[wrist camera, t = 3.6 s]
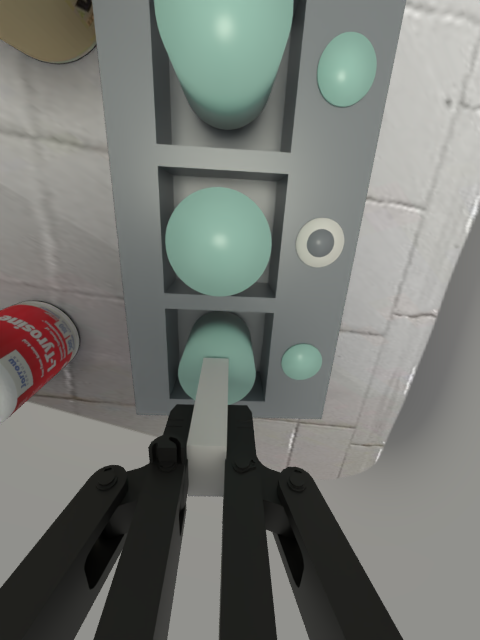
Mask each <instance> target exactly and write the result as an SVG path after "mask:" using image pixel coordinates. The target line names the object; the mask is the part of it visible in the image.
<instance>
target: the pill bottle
mask: <svg viewBox="0 0 480 640" xmlns="http://www.w3.org/2000/svg"><path fill="white" fill-rule="evenodd" d="M78 348H79V336H78V332H77V329H76V327H75V325H74V324H73V322H72V321H71V320H70V318H69V317H68V316H67V315H66V314H65V313H63V312H62V311H61V310H59V309H58V308H56V307H54V306H52V305H50V304H47V303H44V302H38V301H26V302H21V303H18V304H15V305H12V306H10V307H7V308H5V309H3V310H0V424H1V423H2V422H4V421H5V420H6V419H7V418H8V417H10V416H11V415H12V414H13V413H14V412H15V411H16V410H17V409H18V408H20V407H21V405H23V404H24V403H25V402H26V401H27V400H28V399H29V398H31V397H32V396H33V395H34V394H35V393H36V392H37V391H38V390H39V389H41V388H42V387H43V386H44V385H45V384H46V383H47V382H48V381H49V380H50V379H51V378H53V377H54V376H55V375H56V374H57V373H58V372H59V371H60V370H61V369H62V368H64V367H65V366H66V365H67V364H68V363H69V362H70V361H71V360H72V359H73V358H74V356H75V355H76V353H77V351H78Z"/></svg>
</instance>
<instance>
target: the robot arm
mask: <svg viewBox="0 0 480 640" xmlns="http://www.w3.org/2000/svg"><path fill="white" fill-rule="evenodd" d="M228 368H229V359H227V358H203V363H202V368H201V373H200V379H199V384H198V389H197V394H196V399H195V404H194V405H191V404H177V405H176V406H175V407H174V408H173V409H172V410H171V411H170V414H169V418H168V421H167V424H166V427H165V431H164V434H163V435H162V436H160V437H158V438H156V439H155V440H154V441H152V442H151V444H150V446H149V447H148V448H149V458H150V463H149V464H147V465H145V466H144V467H141V468H139V469H135V470H131V471H127V472H126V471H125V469H124V468H123V467H121V466H119V465H110V466H106V467H103V468H101V469H99V470H98V471H96V472H95V473H94V474H93V475H92V476H91V477H90V478H89V479H88V481H87V482H86V483H85V485H84V486H83V487H82V488H81V489H80V491H79V492H78V493H77V494H76V496H75V497H74V498H73V499H72V500H71V502H70V503H69V504H68V505H67V507H66V508H65V509H64V510H63V512H62V513H61V514H60V515H59V517H58V518H57V519H56V520H55V522H54V523H53V524H52V525H51V526H50V528H49V529H48V530H47V531H46V533H45V534H44V535H43V536H42V538H41V539H40V540H39V541H38V543H37V544H36V545H35V546H34V547H33V549H32V550H31V551H30V552H29V554H28V555H27V556H26V557H25V558H24V560H23V561H22V562H21V563H20V565H19V566H18V567H17V568H16V570H15V571H14V572H13V573H12V575H11V576H10V577H9V578H8V580H7V581H6V582H5V583H4V584H3V586H2V587H1V588H0V640H74V638H75V636H76V635H77V633H78V631H79V629H80V627H81V625H82V623H83V621H84V620H85V618H86V616H87V614H88V612H89V610H90V608H91V606H92V605H93V603H94V601H95V599H96V597H97V596H98V593H99V592H100V590H101V588H102V586H103V584H104V582H105V581H106V579H107V577H108V575H109V573H110V571H111V570H112V568H113V566H114V564H115V562H116V560H117V558H118V556H119V555H120V553H121V551H122V553H121V556H120V559H119V562H118V565H117V568H116V572H115V575H114V578H113V581H112V584H111V587H110V590H109V593H108V596H107V599H106V603H105V606H104V609H103V612H102V615H101V618H100V622H99V625H98V627H97V631H96V634H95V637H94V640H167V636H168V629H169V622H170V616H171V609H172V603H173V596H174V589H175V583H176V576H177V569H178V562H179V555H180V549H181V543H182V536H183V529H184V522H185V515H186V498H187V493H188V496H224V499H223V522H222V524H223V526H222V528H223V529H222V557H221V589H220V619H219V640H277V635H276V625H275V614H274V605H273V595H272V585H271V577H270V566H269V556H268V547H267V537H266V530H269V531H271V532H273V535H274V538H275V541H276V544H277V547H278V550H279V552H280V555H281V558H282V561H283V564H284V567H285V570H286V573H287V576H288V578H289V582H290V584H291V587H292V590H293V593H294V596H295V599H296V602H297V605H298V608H299V610H300V613H301V616H302V619H303V622H304V625H305V628H306V631H307V634H308V637H309V639H310V640H403V638H402V637H401V635H400V633H399V631H398V630H397V628H396V626H395V624H394V622H393V621H392V619H391V617H390V615H389V613H388V612H387V610H386V608H385V606H384V605H383V603H382V601H381V599H380V597H379V596H378V594H377V592H376V590H375V588H374V587H373V585H372V583H371V581H370V580H369V578H368V576H367V574H366V573H365V571H364V569H363V567H362V565H361V564H360V562H359V560H358V558H357V556H356V555H355V553H354V551H353V549H352V548H351V546H350V544H349V542H348V540H347V539H346V537H345V535H344V533H343V532H342V530H341V528H340V526H339V524H338V523H337V521H336V519H335V517H334V516H333V514H332V512H331V510H330V508H329V507H328V505H327V503H326V502H325V500H324V498H323V496H322V494H321V492H320V491H319V489H318V487H317V485H316V484H315V482H314V480H313V478H312V477H311V476H310V475H309V473H307V472H306V471H304V470H303V469H301V468H297V467H288V468H286V469H283V471H282V472H281V473H280V472H277V471H274V470H271V469H269V468H267V467H265V466H264V465H262V463H261V462H260V461H259V460H258V458H257V455H256V449H255V439H254V429H253V419H252V412H251V410H250V409H249V407H248V406H247V405H228ZM122 549H123V550H122Z"/></svg>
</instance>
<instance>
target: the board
mask: <svg viewBox="0 0 480 640" xmlns="http://www.w3.org/2000/svg"><path fill="white" fill-rule="evenodd" d="M405 4H406V0H293V17H292V24H291V29H290V33H289V37H288V40H287V43H286V47H285V50H284V53H283V56H282V59H281V62H280V65H279V68H278V71H277V75H276V78H275V81H274V84H273V87H272V90H271V93H270V96H269V99H268V101H267V103H266V105H265V107H264V108H263V110H262V112H261V113H260V114H259V115H258V116H257V117H256V118H255V119H254V120H253V121H252V122H250V123H249V124H247V125H245V126H243V127H241V128H238V129H232V130H224V129H218V128H215V127H213V126H211V125H209V124H207V123H206V122H204V121H203V120H202V119H200V118H199V117H198V116H197V115H196V113H195V112H194V111H193V110H192V108H191V107H190V105H189V103H188V101H187V99H186V97H185V94H184V92H183V89H182V87H181V85H180V82H179V80H178V77H177V75H176V73H175V70H174V68H173V65H172V63H171V60H170V58H169V56H168V53H167V51H166V48H165V46H164V44H163V41H162V39H161V36H160V32H159V29H158V25H157V20H156V15H155V6H154V0H92V5H93V14H94V24H95V33H96V42H97V51H98V61H99V70H100V79H101V89H102V98H103V107H104V116H105V126H106V135H107V144H108V154H109V163H110V172H111V181H112V191H113V200H114V209H115V219H116V228H117V237H118V246H119V256H120V265H121V274H122V284H123V293H124V302H125V311H126V321H127V330H128V339H129V348H130V358H131V367H132V376H133V386H134V395H135V404H136V413H137V415H169V414H170V411H171V410H172V409H173V408H174V407H175V406H176V405H177V404H191V405H194V404H195V400H194V399H192V398H191V397H190V396H189V395H188V394H187V393H186V392H185V391H184V390H183V388H182V386H181V384H180V382H179V377H178V368H179V364H180V361H181V358H182V355H183V352H184V350H185V347H186V344H187V341H188V338H189V335H190V332H191V330H192V327H193V325H194V324H195V323H196V321H197V320H198V319H199V318H201V317H202V316H204V315H205V314H208V313H211V312H216V311H224V312H229V313H232V314H234V315H236V316H238V317H239V318H241V319H242V320H243V321H244V322H245V323H246V325H247V327H248V329H249V331H250V335H251V342H252V349H253V356H254V363H255V371H256V377H255V382H254V385H253V387H252V389H251V390H250V392H249V393H248V394H247V395H246V396H245V397H244V398H243V399H241V400H240V401H238V402H236V403H233V404H231V405H247V406H248V407H249V409H250V410H251V412H252V417H255V418H296V419H322V414H323V409H324V404H325V399H326V394H327V389H328V384H329V379H330V374H331V370H332V365H333V360H334V355H335V350H336V345H337V340H338V335H339V330H340V325H341V320H342V315H343V310H344V305H345V300H346V295H347V290H348V286H349V281H350V276H351V271H352V266H353V261H354V256H355V251H356V246H357V241H358V236H359V231H360V226H361V221H362V216H363V211H364V207H365V202H366V197H367V192H368V187H369V182H370V177H371V172H372V167H373V162H374V157H375V152H376V147H377V142H378V137H379V132H380V128H381V123H382V118H383V113H384V108H385V103H386V98H387V93H388V88H389V83H390V78H391V73H392V68H393V63H394V58H395V53H396V49H397V44H398V39H399V34H400V29H401V24H402V19H403V14H404V9H405ZM210 187H224V188H229V189H233V190H236V191H238V192H240V193H242V194H244V195H246V196H247V197H249V198H250V199H251V200H252V201H254V202H255V204H256V205H257V206H258V207H259V208H260V209H261V211H262V212H263V214H264V216H265V218H266V220H267V222H268V225H269V228H270V232H271V240H272V246H271V254H270V258H269V262H268V264H267V266H266V269H265V270H264V272H263V274H262V275H261V276H260V278H259V279H258V280H257V281H256V282H255V283H254V284H253V285H251V286H250V287H249V288H247V289H246V290H244V291H242V292H240V293H237V294H234V295H230V296H210V295H206V294H203V293H200V292H198V291H196V290H194V289H192V288H191V287H189V286H188V285H186V284H185V283H184V282H183V281H182V280H181V279H180V278H179V277H178V276H177V274H176V273H175V271H174V270H173V268H172V266H171V264H170V262H169V259H168V256H167V252H166V244H165V235H166V229H167V225H168V222H169V219H170V217H171V215H172V213H173V211H174V210H175V208H176V207H177V206H178V205H179V203H180V202H181V201H183V200H184V199H185V198H186V197H188V196H189V195H190V194H192V193H194V192H196V191H198V190H201V189H205V188H210Z"/></svg>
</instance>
